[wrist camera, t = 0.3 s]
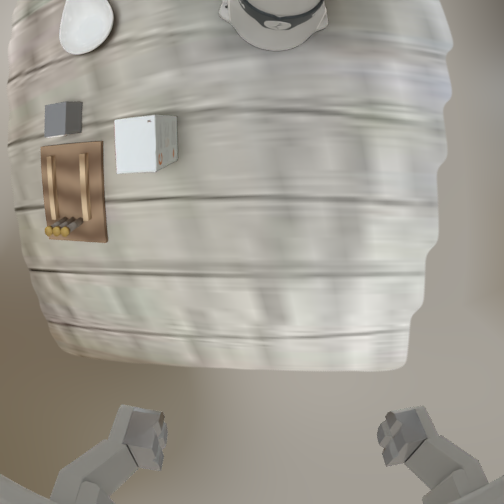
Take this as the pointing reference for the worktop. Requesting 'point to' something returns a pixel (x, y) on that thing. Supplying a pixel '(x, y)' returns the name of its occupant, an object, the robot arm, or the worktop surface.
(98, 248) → the worktop surface
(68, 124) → the grey block
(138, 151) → the small box
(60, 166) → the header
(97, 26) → the spoon rest
